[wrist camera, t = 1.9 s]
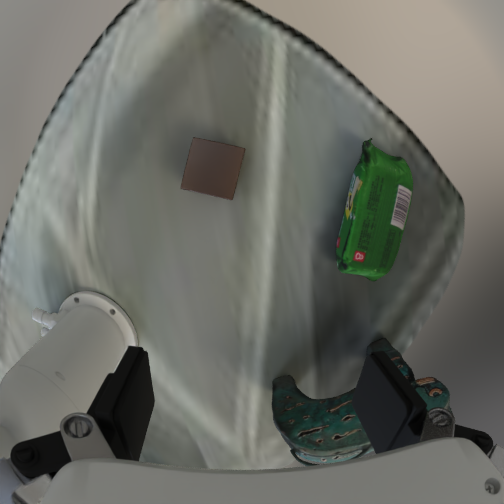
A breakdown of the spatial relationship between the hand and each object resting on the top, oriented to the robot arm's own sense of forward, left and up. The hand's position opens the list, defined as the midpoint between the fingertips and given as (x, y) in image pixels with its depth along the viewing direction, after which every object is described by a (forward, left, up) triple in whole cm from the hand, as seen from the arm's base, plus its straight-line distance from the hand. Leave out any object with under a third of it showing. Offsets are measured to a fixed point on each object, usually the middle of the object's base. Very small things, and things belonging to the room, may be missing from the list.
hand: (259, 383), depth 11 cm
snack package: (+13, +8, -23) cm, 27 cm away
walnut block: (-5, +8, -22) cm, 24 cm away
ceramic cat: (+17, -14, -23) cm, 32 cm away
